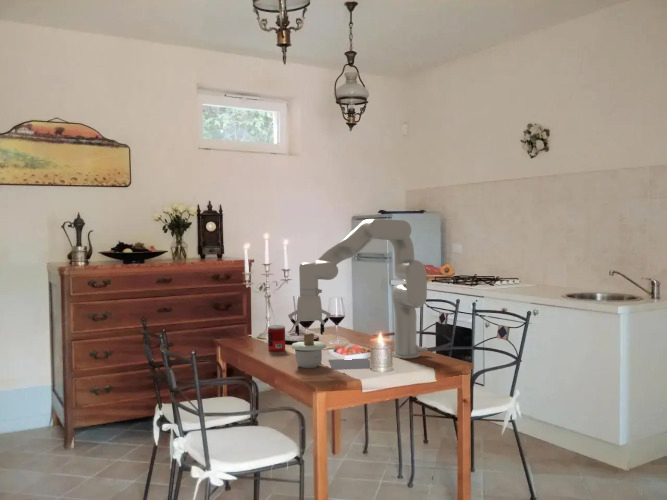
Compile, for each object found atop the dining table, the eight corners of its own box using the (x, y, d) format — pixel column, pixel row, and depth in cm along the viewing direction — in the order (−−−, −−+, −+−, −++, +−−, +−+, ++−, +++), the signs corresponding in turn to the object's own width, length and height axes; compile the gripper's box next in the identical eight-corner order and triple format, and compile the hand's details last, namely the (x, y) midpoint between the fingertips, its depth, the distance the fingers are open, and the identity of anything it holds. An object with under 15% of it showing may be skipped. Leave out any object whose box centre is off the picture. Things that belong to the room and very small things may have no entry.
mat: (367, 359, 253) (367, 358, 253) (374, 369, 236) (374, 368, 236) (328, 360, 251) (328, 359, 251) (332, 370, 234) (332, 369, 234)
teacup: (318, 371, 234) (318, 351, 233) (291, 369, 236) (291, 349, 236) (326, 362, 247) (326, 343, 247) (301, 361, 250) (300, 342, 249)
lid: (324, 343, 249) (324, 330, 249) (327, 350, 235) (327, 336, 235) (291, 344, 247) (291, 331, 247) (292, 351, 234) (292, 337, 233)
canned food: (288, 349, 275) (288, 325, 275) (279, 352, 268) (278, 328, 267) (274, 347, 279) (274, 324, 278) (264, 350, 272) (264, 327, 271)
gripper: (329, 291, 245) (330, 332, 246) (287, 292, 243) (288, 333, 244) (331, 293, 238) (331, 335, 239) (288, 294, 236) (288, 337, 237)
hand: (309, 334), depth 241 cm, fingers open, 9 cm apart
